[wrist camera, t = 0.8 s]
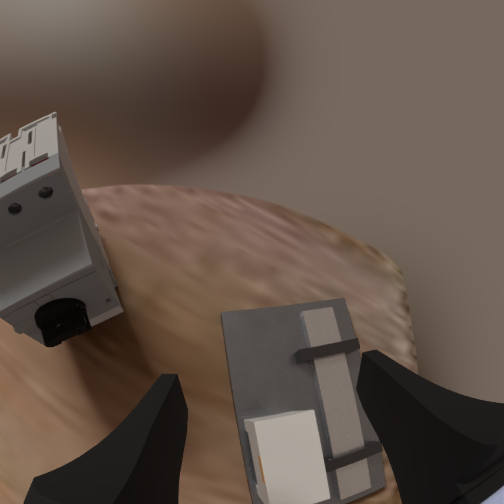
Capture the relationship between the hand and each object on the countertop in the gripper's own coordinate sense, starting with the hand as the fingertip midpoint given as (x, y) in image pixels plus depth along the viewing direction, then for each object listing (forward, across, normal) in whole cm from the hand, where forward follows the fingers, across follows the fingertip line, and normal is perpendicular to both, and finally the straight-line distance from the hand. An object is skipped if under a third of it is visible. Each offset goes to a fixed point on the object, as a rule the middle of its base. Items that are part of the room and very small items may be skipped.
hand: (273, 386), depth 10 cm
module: (+5, 0, +13) cm, 14 cm away
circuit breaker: (+15, +16, +2) cm, 22 cm away
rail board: (+8, -4, +12) cm, 15 cm away
